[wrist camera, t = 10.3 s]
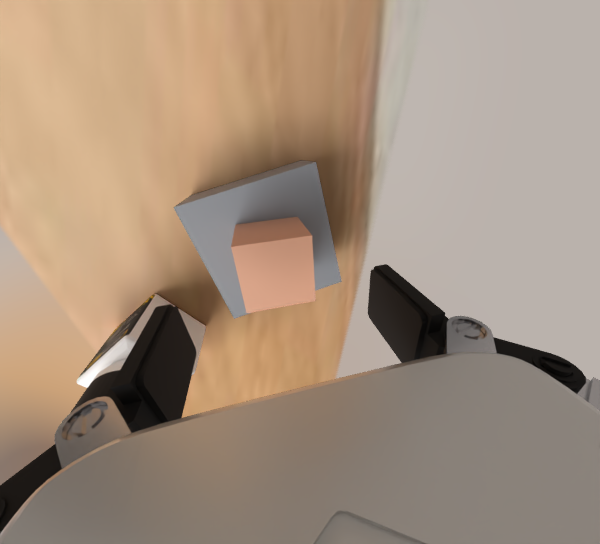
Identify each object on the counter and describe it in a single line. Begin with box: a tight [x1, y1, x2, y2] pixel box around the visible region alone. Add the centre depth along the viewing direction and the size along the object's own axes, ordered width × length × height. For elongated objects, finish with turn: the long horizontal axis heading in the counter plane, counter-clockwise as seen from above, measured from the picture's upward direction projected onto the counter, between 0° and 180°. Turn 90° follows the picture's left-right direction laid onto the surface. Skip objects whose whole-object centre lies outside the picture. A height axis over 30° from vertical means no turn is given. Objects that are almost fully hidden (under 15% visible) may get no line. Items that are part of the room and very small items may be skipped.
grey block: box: [174, 160, 342, 319], centre depth 22 cm, size 11×11×6 cm
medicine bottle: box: [71, 294, 206, 412], centre depth 22 cm, size 7×7×12 cm
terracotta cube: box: [231, 217, 316, 313], centre depth 17 cm, size 5×5×5 cm
